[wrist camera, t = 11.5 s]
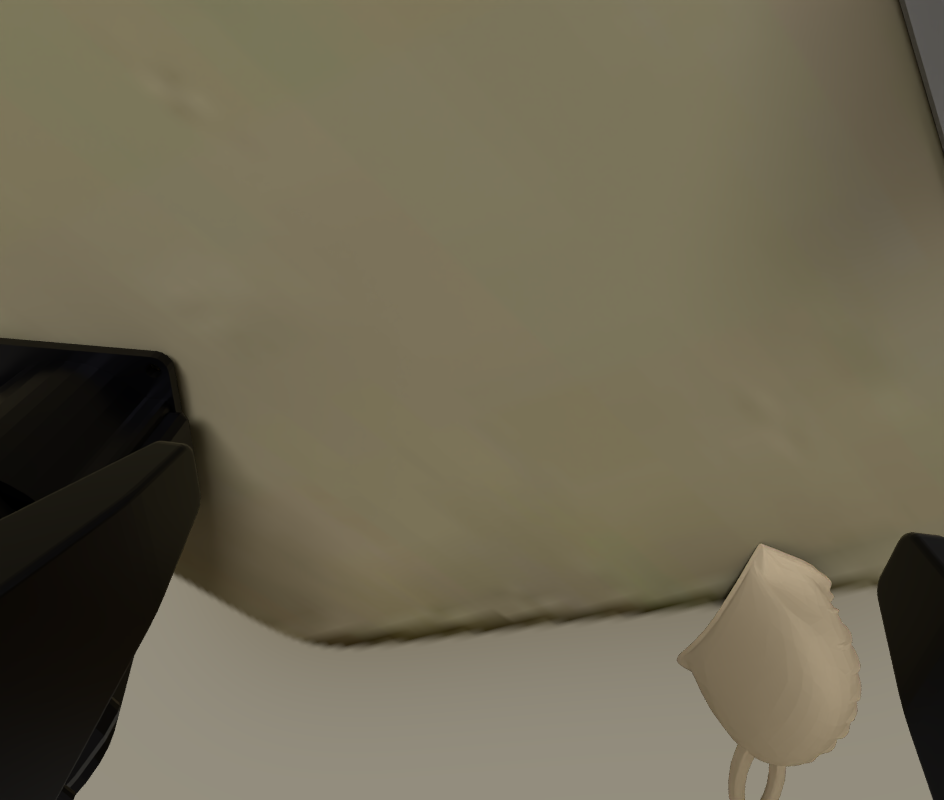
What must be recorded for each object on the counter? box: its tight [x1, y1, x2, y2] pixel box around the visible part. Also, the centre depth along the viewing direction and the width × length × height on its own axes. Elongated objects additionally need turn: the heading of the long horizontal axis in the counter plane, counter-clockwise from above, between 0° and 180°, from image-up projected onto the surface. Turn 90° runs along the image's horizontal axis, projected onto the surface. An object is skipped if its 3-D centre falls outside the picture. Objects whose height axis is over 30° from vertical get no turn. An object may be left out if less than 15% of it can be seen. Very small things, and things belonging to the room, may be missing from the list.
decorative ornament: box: [677, 543, 861, 800], centre depth 26 cm, size 4×8×5 cm, turn 161°
